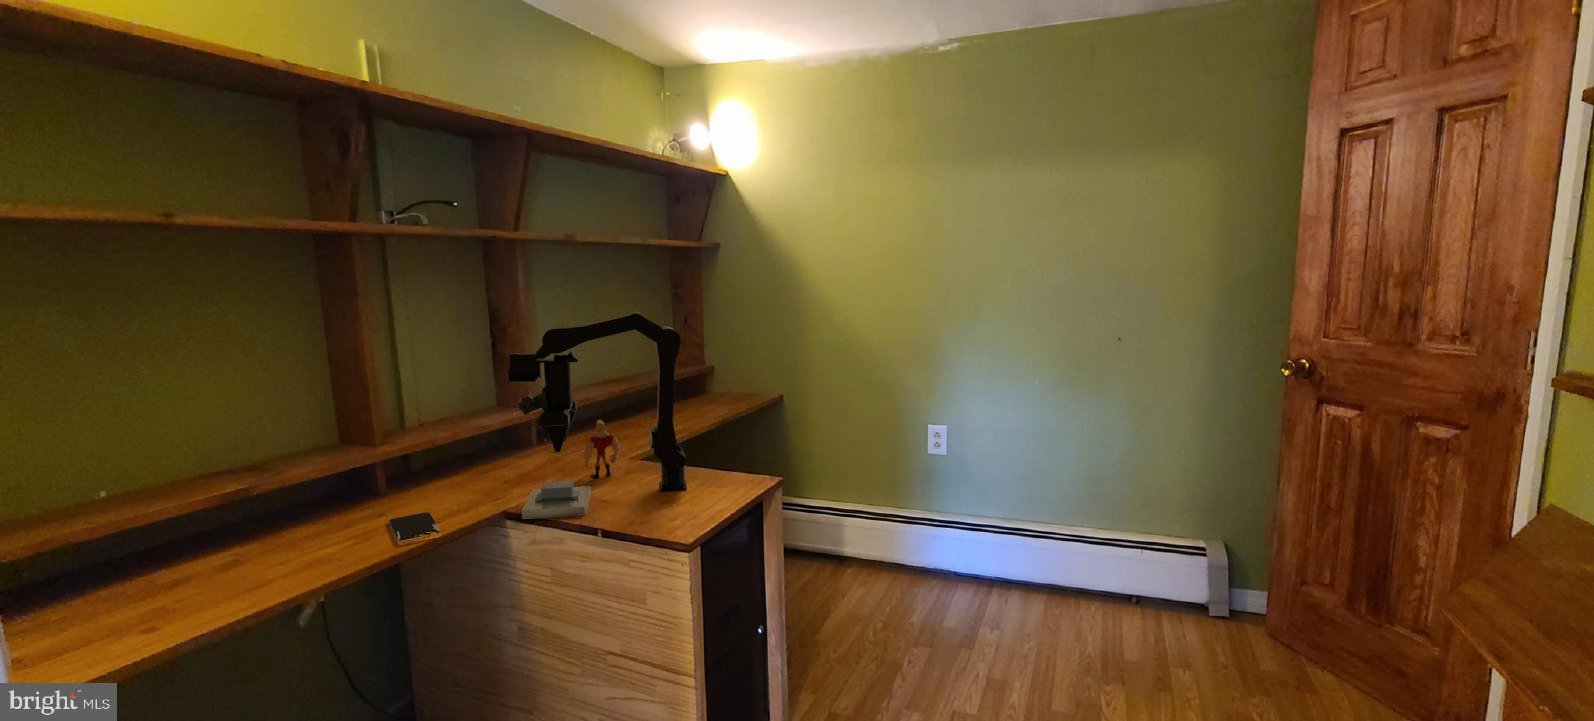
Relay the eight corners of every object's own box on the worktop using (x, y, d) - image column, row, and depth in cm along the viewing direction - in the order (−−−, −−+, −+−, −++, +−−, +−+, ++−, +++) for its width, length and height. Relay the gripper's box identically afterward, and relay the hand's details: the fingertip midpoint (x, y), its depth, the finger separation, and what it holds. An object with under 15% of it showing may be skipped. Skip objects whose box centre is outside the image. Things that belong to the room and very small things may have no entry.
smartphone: (428, 511, 147) (442, 532, 135) (429, 517, 147) (442, 539, 135) (388, 519, 142) (398, 542, 130) (388, 525, 142) (398, 548, 130)
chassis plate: (533, 497, 158) (533, 489, 158) (590, 494, 161) (590, 486, 161) (522, 519, 145) (521, 510, 144) (585, 515, 147) (584, 506, 147)
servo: (541, 499, 157) (540, 478, 157) (582, 496, 159) (581, 476, 159) (535, 510, 150) (534, 489, 149) (578, 507, 152) (577, 486, 151)
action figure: (615, 470, 179) (614, 416, 177) (621, 474, 176) (620, 418, 174) (581, 477, 173) (579, 420, 171) (586, 481, 170) (584, 423, 168)
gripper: (528, 375, 163) (531, 438, 165) (512, 389, 145) (515, 459, 147) (576, 374, 165) (578, 436, 168) (566, 388, 147) (569, 457, 149)
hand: (560, 446), depth 158 cm, fingers open, 9 cm apart
